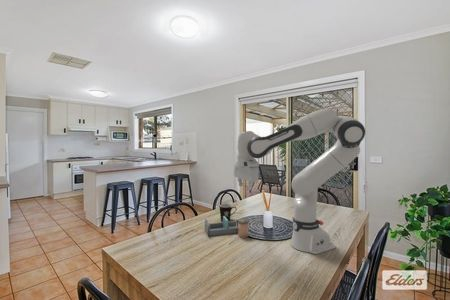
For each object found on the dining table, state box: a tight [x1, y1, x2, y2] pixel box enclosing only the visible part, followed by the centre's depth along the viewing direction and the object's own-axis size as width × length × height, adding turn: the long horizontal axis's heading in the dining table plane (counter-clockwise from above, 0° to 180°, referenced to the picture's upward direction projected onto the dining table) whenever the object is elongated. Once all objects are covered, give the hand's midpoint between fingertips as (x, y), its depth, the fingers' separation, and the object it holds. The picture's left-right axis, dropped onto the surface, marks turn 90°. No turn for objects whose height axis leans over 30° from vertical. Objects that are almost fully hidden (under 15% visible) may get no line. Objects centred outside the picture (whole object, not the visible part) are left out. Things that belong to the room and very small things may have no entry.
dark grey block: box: [204, 218, 238, 237], centre depth 134 cm, size 20×11×6 cm, turn 105°
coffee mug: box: [219, 203, 237, 222], centre depth 153 cm, size 12×9×10 cm
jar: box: [237, 217, 250, 239], centre depth 127 cm, size 6×6×9 cm
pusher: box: [222, 216, 229, 229], centre depth 135 cm, size 1×8×7 cm, turn 15°
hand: (245, 187), depth 116 cm, fingers open, 8 cm apart
